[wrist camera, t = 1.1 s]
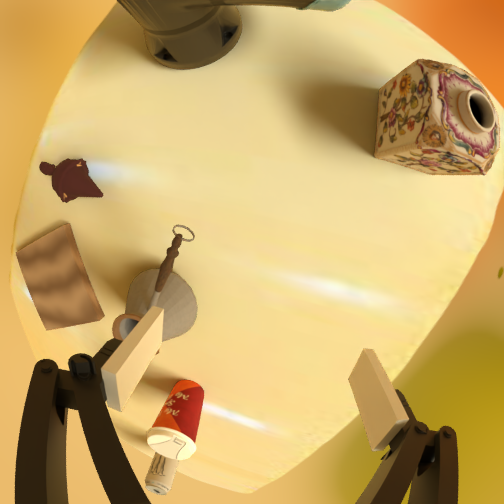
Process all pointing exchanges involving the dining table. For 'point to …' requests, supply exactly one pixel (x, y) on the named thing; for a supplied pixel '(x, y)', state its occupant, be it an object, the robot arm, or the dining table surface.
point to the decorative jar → (437, 121)
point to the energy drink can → (161, 474)
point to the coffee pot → (160, 298)
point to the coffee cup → (178, 422)
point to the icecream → (71, 179)
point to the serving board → (59, 280)
